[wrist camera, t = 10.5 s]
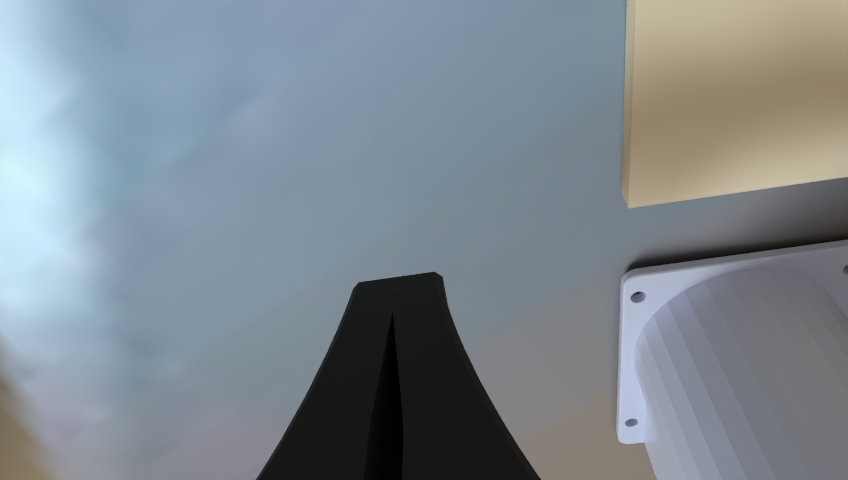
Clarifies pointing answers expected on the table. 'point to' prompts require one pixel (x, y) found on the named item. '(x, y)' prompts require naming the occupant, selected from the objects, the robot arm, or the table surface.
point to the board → (733, 96)
